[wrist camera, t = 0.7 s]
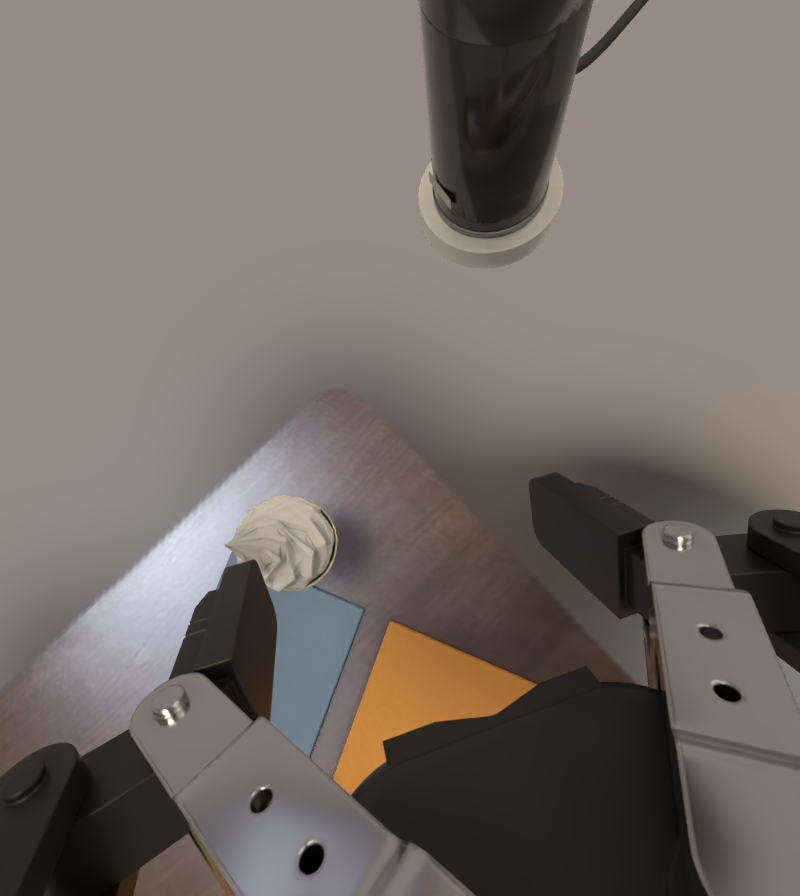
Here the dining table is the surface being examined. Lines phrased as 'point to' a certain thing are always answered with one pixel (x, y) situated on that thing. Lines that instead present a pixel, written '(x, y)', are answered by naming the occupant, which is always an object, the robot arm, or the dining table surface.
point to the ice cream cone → (287, 542)
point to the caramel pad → (419, 696)
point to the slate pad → (308, 657)
